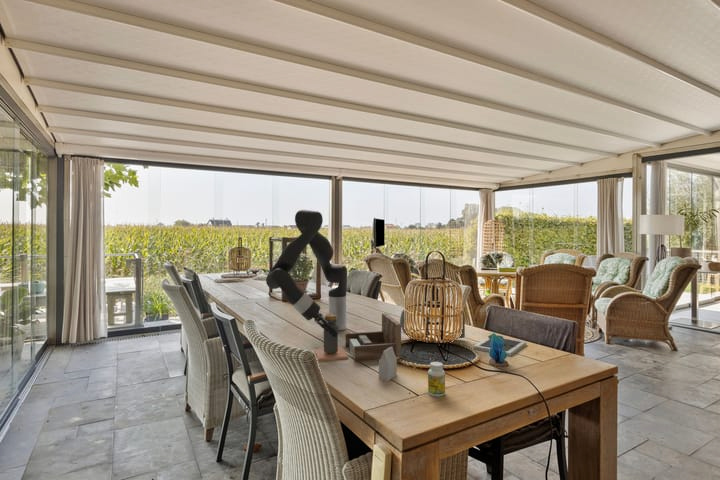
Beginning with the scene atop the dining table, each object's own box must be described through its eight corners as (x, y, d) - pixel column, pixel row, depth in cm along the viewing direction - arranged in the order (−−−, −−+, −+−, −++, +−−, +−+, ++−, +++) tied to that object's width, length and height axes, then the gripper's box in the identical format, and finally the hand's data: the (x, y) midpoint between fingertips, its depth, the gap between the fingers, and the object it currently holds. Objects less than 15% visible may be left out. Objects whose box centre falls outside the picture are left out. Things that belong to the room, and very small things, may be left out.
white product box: (396, 374, 143) (396, 347, 143) (388, 381, 137) (388, 352, 137) (387, 372, 145) (387, 345, 145) (378, 379, 139) (378, 350, 139)
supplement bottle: (448, 393, 127) (448, 363, 127) (438, 398, 123) (439, 368, 123) (434, 388, 131) (434, 359, 130) (424, 393, 127) (424, 363, 127)
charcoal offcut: (358, 349, 174) (358, 335, 173) (365, 348, 174) (365, 335, 174) (364, 357, 162) (364, 343, 162) (371, 357, 162) (372, 342, 162)
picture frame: (492, 340, 189) (473, 350, 173) (492, 334, 189) (473, 344, 173) (526, 346, 179) (509, 358, 163) (526, 340, 179) (510, 351, 163)
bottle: (332, 354, 161) (332, 317, 160) (320, 351, 164) (320, 315, 163) (340, 350, 166) (340, 314, 165) (329, 348, 169) (329, 313, 168)
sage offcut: (349, 349, 174) (349, 339, 174) (356, 348, 174) (356, 338, 174) (355, 359, 160) (355, 348, 160) (362, 359, 160) (362, 348, 160)
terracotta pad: (315, 351, 169) (315, 349, 169) (342, 349, 172) (342, 347, 172) (318, 361, 157) (318, 358, 157) (348, 358, 160) (348, 356, 160)
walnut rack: (345, 346, 177) (345, 315, 176) (386, 343, 181) (386, 313, 181) (355, 362, 156) (355, 326, 156) (401, 358, 161) (401, 324, 160)
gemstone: (485, 364, 153) (485, 334, 153) (492, 358, 160) (493, 329, 160) (504, 369, 149) (505, 337, 148) (511, 362, 156) (512, 332, 155)
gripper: (314, 302, 155) (344, 331, 158) (310, 296, 169) (338, 322, 172) (301, 317, 154) (331, 345, 157) (298, 309, 168) (326, 335, 171)
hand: (334, 333), depth 165 cm, fingers closed on bottle, 5 cm apart
